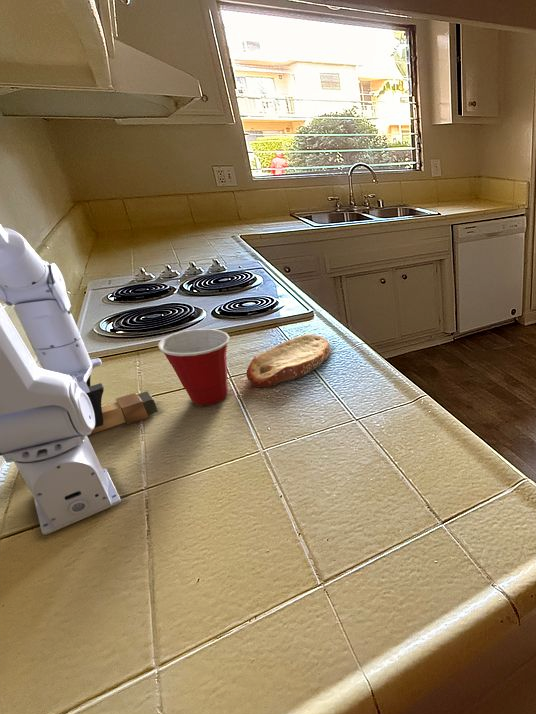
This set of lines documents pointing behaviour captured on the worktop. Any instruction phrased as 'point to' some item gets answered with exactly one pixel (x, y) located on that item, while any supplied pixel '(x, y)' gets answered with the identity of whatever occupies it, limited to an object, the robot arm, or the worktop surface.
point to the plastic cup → (199, 363)
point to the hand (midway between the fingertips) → (90, 417)
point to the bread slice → (288, 360)
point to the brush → (127, 410)
